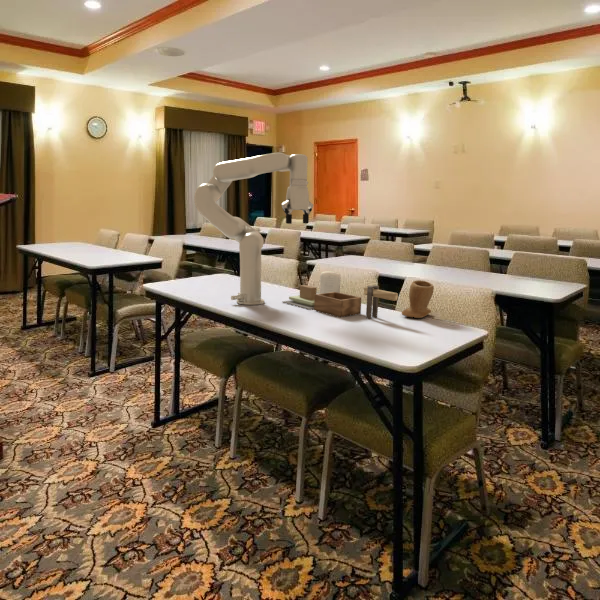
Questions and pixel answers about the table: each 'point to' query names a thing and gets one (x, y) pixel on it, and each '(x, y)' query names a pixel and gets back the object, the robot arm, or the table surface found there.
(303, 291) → the lid
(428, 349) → the table surface
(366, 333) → the table surface
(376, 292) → the tan wooden bar
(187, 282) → the table surface
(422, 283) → the stone cup
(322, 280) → the photo printer
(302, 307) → the mat
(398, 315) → the table surface
